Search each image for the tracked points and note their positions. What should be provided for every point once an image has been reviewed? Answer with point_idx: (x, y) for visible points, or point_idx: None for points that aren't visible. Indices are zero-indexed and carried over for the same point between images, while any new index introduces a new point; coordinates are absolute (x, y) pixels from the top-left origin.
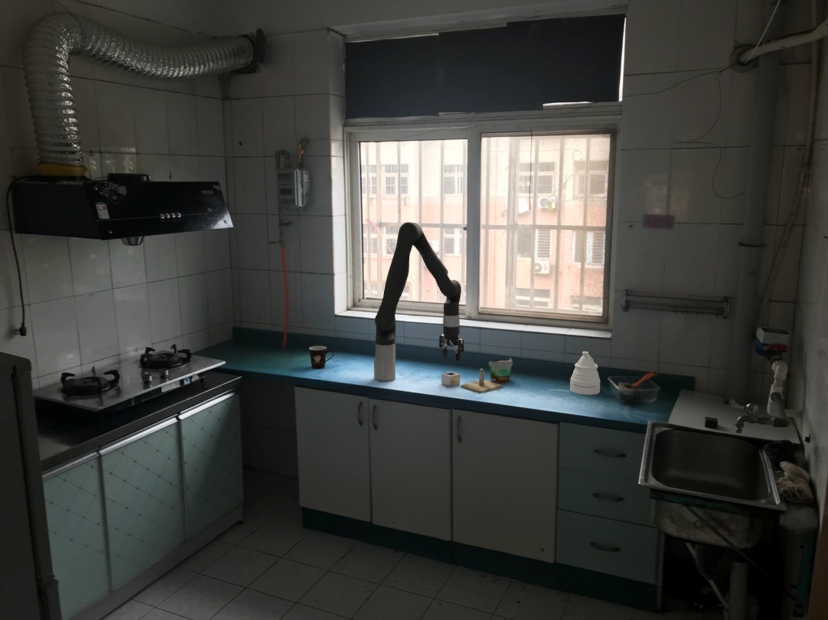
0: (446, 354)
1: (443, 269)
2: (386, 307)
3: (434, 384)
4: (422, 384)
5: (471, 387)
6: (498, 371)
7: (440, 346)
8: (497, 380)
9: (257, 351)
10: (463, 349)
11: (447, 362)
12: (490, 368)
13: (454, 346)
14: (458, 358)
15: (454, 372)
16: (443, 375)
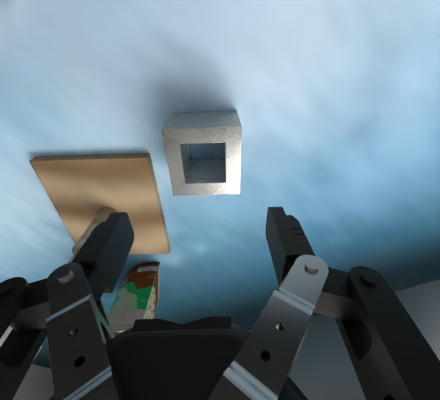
0: (270, 242)
1: None
2: None
3: (256, 76)
4: (306, 9)
5: (94, 168)
6: (118, 300)
7: (357, 279)
8: (133, 272)
9: None
10: (7, 339)
11: (398, 282)
12: (145, 300)
13: (53, 340)
14: (91, 235)
15: (214, 193)
16: (223, 125)
